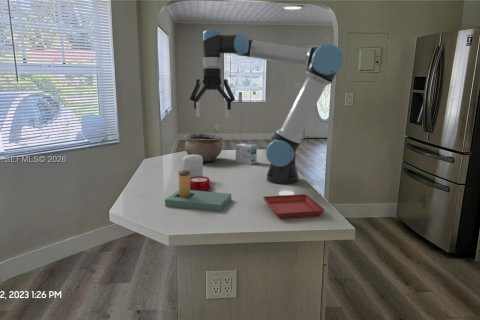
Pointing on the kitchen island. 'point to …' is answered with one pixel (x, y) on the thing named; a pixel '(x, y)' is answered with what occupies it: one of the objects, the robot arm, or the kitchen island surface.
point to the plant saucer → (293, 206)
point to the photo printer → (193, 165)
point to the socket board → (200, 200)
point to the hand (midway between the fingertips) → (212, 117)
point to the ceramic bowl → (204, 145)
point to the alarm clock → (199, 183)
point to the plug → (184, 184)
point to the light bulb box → (246, 153)
